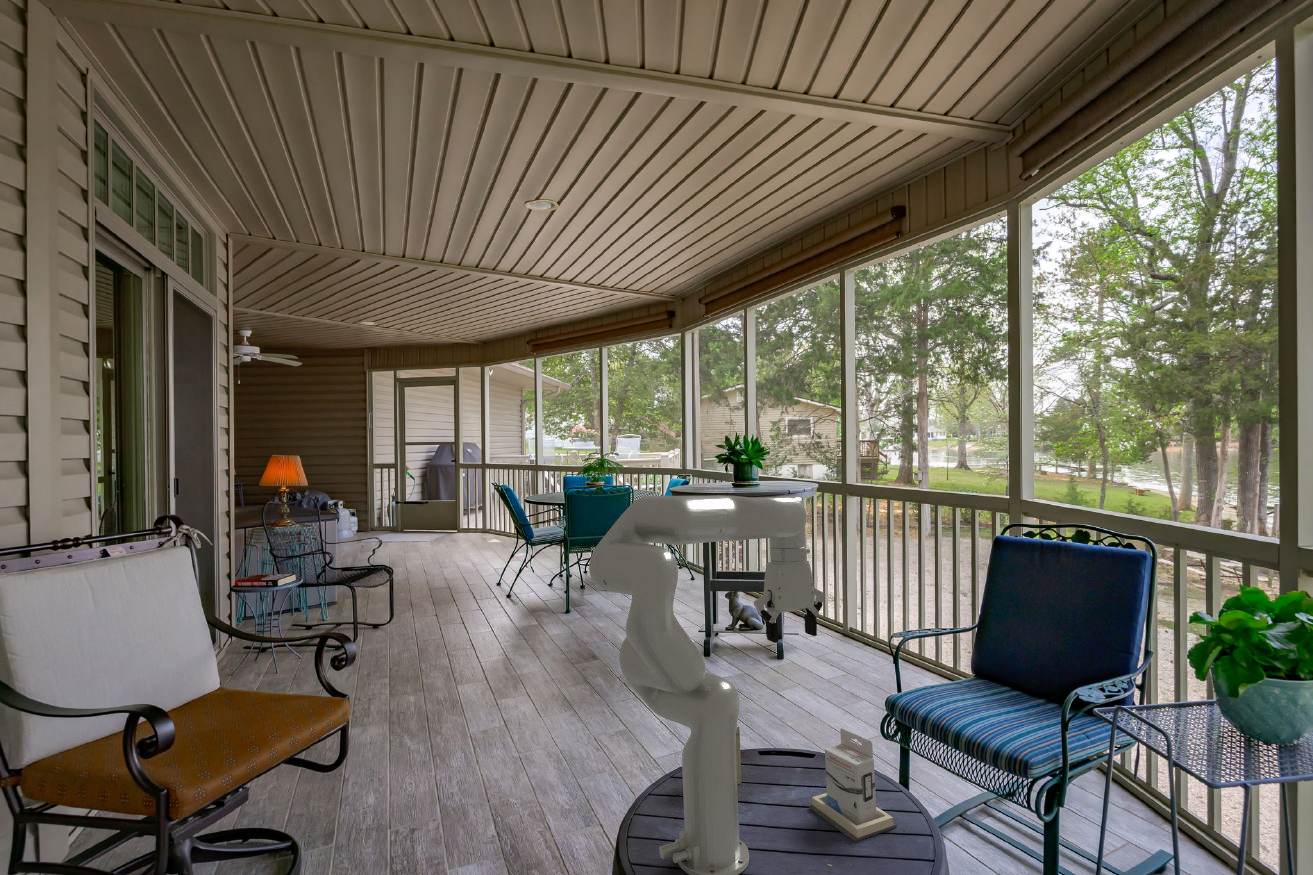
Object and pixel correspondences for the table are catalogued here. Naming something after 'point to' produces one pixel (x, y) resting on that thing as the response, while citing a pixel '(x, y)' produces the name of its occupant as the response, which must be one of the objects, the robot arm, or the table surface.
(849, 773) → the ink box
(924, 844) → the table surface
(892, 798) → the table surface
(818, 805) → the cream picture frame
